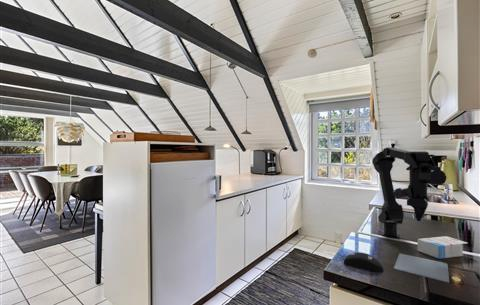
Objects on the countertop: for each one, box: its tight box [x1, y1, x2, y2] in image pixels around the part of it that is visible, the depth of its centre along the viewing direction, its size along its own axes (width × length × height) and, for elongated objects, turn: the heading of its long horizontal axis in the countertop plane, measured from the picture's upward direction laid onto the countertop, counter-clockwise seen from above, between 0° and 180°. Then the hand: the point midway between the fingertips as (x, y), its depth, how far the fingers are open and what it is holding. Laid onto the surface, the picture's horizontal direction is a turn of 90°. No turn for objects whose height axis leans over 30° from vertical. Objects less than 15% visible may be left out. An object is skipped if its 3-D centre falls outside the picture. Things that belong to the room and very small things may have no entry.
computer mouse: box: [343, 252, 384, 273], centre depth 82 cm, size 8×12×4 cm, turn 51°
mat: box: [393, 253, 450, 283], centre depth 81 cm, size 16×14×1 cm
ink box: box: [417, 235, 469, 260], centre depth 92 cm, size 8×5×15 cm
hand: (418, 220), depth 95 cm, fingers closed
